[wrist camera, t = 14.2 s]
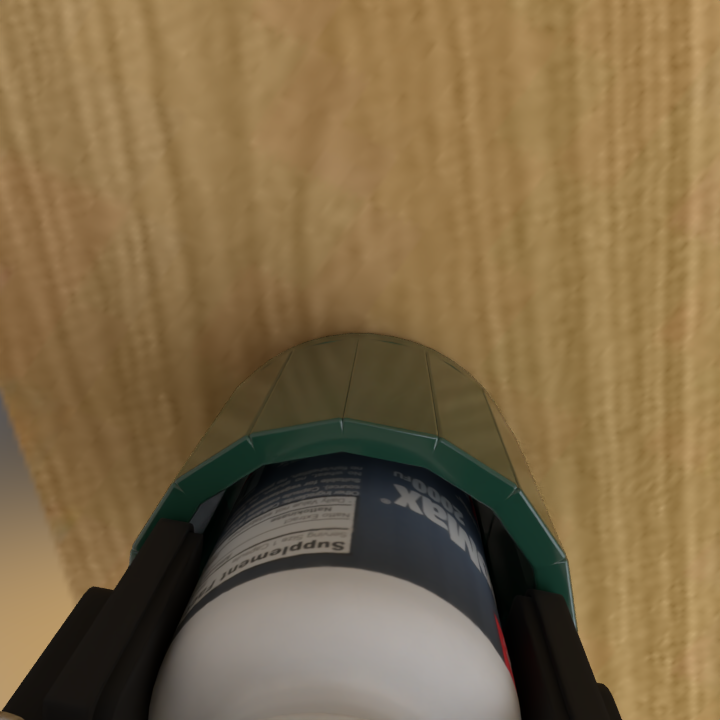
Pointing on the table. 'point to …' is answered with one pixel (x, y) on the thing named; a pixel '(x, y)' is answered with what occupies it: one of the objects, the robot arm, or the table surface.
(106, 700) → the robot arm
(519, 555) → the cup
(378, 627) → the pill bottle
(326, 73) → the table surface
